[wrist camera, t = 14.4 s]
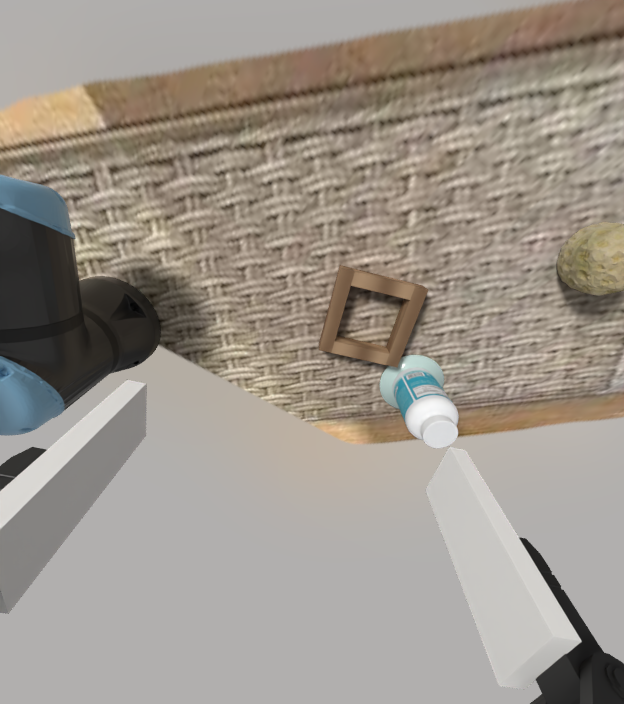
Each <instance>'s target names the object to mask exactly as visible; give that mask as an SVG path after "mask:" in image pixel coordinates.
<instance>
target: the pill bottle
mask: <svg viewBox="0 0 624 704" xmlns="http://www.w3.org/2000/svg"><path fill="white" fill-rule="evenodd" d="M392 391H393V394H394V397H395V399H396V402H397V404H398V406H399V409H400V411H401V414H402V416H403V418H404V421H405V423H406V426H407V428H408V430H409V431H410V433H411V434H412V435H414V436H415V437H416V438H418V439H420V440H424V442H425V443H426V444H427V445H428V446H430V447H432V448H444V447H447V446H449V445H451V444H452V443H453V442H454V441H455V440H456V438H457V436H458V429H457V427H456V426H457V423H458V411H457V409H456V407H455V406H454V404H453V403H452V401H451V400H450V398H449V397H448V396H447V394H446V393H445V391H444V390H443V389H442V387H441V386H440V384H439V383H438V381H437V380H436V379H435V377H434V376H433V375H432V374H431V373H430V372H429V371H428V370H426V369H423V368H419V367H413V368H408V369H406V370H404V371H402V372H401V373H399V374H398V375H397V377H396V378H395V380H394V382H393V386H392Z"/></svg>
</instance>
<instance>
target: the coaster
mask: <svg viewBox="0 0 624 704" xmlns="http://www.w3.org/2000/svg"><path fill="white" fill-rule="evenodd" d="M413 367H419V368H423V369H426V370H428V371H429V372H430V373H431V374H432V375H433V376H434V377H435V379H436V380H437V381H438V383H439V384H440V386H441V387H442V388H443V384H444V375H443V372H442V369H441V368H440V366H439V365H438V364H437V363H436V362H435V361H434V360H433V359H431V358H429V357H427V356H423V355H407V356H403V357H401V359H400V362H399V364H398V367H392V366H387V367H386V369H385V370H384V372H383V373H382V375H381V378H380V391H381V394H382V396H383V398H384V400H385V401H386V402H387V403H388V404H390V405H391V406H393V407H395V408H397V409H399V406H398V404H397V402H396V399H395V397H394V394H393V391H392V386H393V382H394V380H395V378H396V377H397V375H398V374H399V373H401V372H402V371H404V370H406V369H408V368H413Z"/></svg>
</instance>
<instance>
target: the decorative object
mask: <svg viewBox="0 0 624 704" xmlns="http://www.w3.org/2000/svg"><path fill="white" fill-rule="evenodd" d="M557 271H558V274H559V276H560V278H561V281H562V282H565V283H566V284H567V285H568V286H569V287H571V288H573V289H576V290H577V291H580V292H582V293H588V294H592V295H606V294H612V293H616V292H621V291H624V224H620V223H607V222H601V223H598V224H593V225H591V226H587V227H585V228H583V229H581V230H579V231H578V232H576V233H575V234H574V235H572V236H571V237H570V238H569V239H568V240H567V241H566V242H565V244H564V245H563V246H562V248H561V252H560V253H559V256H558V260H557Z"/></svg>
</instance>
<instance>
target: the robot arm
mask: <svg viewBox="0 0 624 704" xmlns="http://www.w3.org/2000/svg"><path fill="white" fill-rule="evenodd" d="M73 239H75V234H74V233H73V232H72V229H71V224H70V219H69V214H68V208H67V205H66V203H65V201H64V199H63V198H62V197H61V196H60V195H59V194H58V193H57V192H56V191H54V190H53V189H51V188H49V187H47V186H43V185H40V184H36V183H32V182H28V181H24V180H20V179H16V178H12V177H7V176H3V175H0V435H19V434H24V433H28V432H30V431H33V430H35V429H37V428H39V427H40V426H41V425H43V424H44V423H46V422H47V421H49V420H50V419H52V418H54V417H57V416H58V415H60V414H61V413H62V412H63V411H64V410H65V409H67V408H68V407H69V406H70V405H71V404H73V403H74V402H75V401H76V400H78V399H79V398H80V397H81V396H82V395H84V394H85V393H86V392H87V391H89V390H90V389H91V388H92V387H94V386H95V385H96V384H97V383H98V382H100V381H101V380H102V379H103V378H105V377H106V376H107V375H108V374H110V373H114V372H117V371H121V370H125V369H129V368H132V367H135V366H137V365H139V364H140V363H142V362H143V361H145V360H146V359H147V358H148V357H149V356H150V355H152V354H153V352H154V351H155V350H156V348H157V346H158V344H159V340H160V333H161V332H160V323H159V319H158V316H157V314H156V312H155V310H154V308H153V307H152V305H151V304H150V302H149V301H148V300H147V299H146V297H145V296H144V295H143V294H142V293H140V292H139V291H138V290H137V289H135V288H134V287H133V286H131V285H129V284H128V283H126V282H123V281H121V280H118V279H115V278H111V277H105V276H97V277H90V278H87V279H83V280H80V281H79V277H78V270H77V263H76V255H75V248H74V241H73ZM145 436H146V383H141V382H137V381H132V380H127V381H125V382H124V383H123V384H122V385H121V386H119V387H118V388H117V389H116V390H115V391H114V392H113V393H111V394H110V395H109V396H108V397H107V398H106V399H105V400H103V401H102V402H101V403H100V404H99V405H98V406H97V407H96V408H95V409H93V410H92V411H91V412H90V413H89V414H88V415H87V416H85V417H84V418H83V419H82V420H81V421H80V422H78V423H77V424H76V425H75V426H74V427H73V428H72V429H70V430H69V431H68V432H67V433H66V434H65V435H64V436H62V437H61V438H60V439H59V440H58V441H57V442H56V443H55V444H53V445H52V446H51V447H50V448H49V449H48V450H45V449H40V448H35V447H31V448H29V449H28V450H25V451H23V452H22V453H19V454H17V455H15V456H13V457H11V458H10V459H9V460H7V461H6V462H5V463H3V464H2V465H1V466H0V613H8V614H9V612H10V611H11V610H12V608H13V607H14V606H15V605H16V603H17V602H18V601H19V599H20V598H21V597H22V595H23V594H24V593H25V592H26V590H27V589H28V588H29V586H30V585H31V584H32V582H33V581H34V580H35V579H36V577H37V576H38V575H39V573H40V572H41V571H42V569H43V568H44V567H45V566H46V564H47V563H48V562H49V560H50V559H51V558H52V557H53V555H54V554H55V553H56V551H57V550H58V549H59V547H60V546H61V545H62V544H63V542H64V541H65V540H66V538H67V537H68V536H69V535H70V533H71V532H72V531H73V529H74V528H75V527H76V525H77V524H78V523H79V522H80V520H81V519H82V518H83V516H84V515H85V514H86V513H87V511H88V510H89V509H90V507H91V506H92V505H93V503H94V502H95V501H96V500H97V498H98V497H99V496H100V494H101V493H102V492H103V490H104V489H105V488H106V487H107V485H108V484H109V483H110V482H111V480H112V479H113V478H114V476H115V475H116V474H117V472H118V471H119V470H120V469H121V467H122V466H123V465H124V463H125V462H126V461H127V460H128V458H129V457H130V456H131V454H132V453H133V451H134V450H135V449H136V448H137V447H138V445H139V444H140V443H141V441H142V440H143V439H144V437H145ZM425 491H426V494H427V496H428V499H429V502H430V504H431V507H432V509H433V512H434V515H435V517H436V520H437V523H438V525H439V528H440V531H441V533H442V536H443V539H444V541H445V544H446V546H447V549H448V552H449V555H450V557H451V560H452V563H453V565H454V568H455V570H456V573H457V576H458V578H459V581H460V584H461V586H462V589H463V592H464V594H465V597H466V600H467V602H468V605H469V608H470V610H471V613H472V616H473V618H474V621H475V624H476V626H477V629H478V632H479V634H480V637H481V639H482V642H483V645H484V648H485V650H486V653H487V655H488V658H489V661H490V664H491V666H492V669H493V671H494V674H495V677H496V680H497V682H498V685H499V686H502V687H509V688H516V689H523V690H524V689H525V688H526V687H528V686H529V685H530V684H531V683H533V682H534V681H535V680H536V681H537V683H538V685H539V687H540V690H541V692H542V695H540V696H539V697H538V698H537V699H535V700H534V701H533V702H531V703H530V704H624V664H623V663H622V662H621V661H619V660H618V659H616V658H614V657H613V656H611V655H610V654H606V653H604V652H603V650H602V649H601V647H600V646H599V645H598V643H597V642H596V640H595V638H594V637H593V635H592V634H591V632H590V631H589V629H588V627H587V626H586V624H585V623H584V621H583V620H582V618H581V617H580V615H579V614H578V612H577V610H576V609H575V607H574V606H573V604H572V603H571V601H570V599H569V598H568V596H567V595H566V593H565V592H564V590H562V589H561V585H560V584H559V582H558V581H557V579H556V578H555V576H554V575H552V573H551V572H552V571H551V570H550V568H549V567H548V565H547V564H546V562H545V560H544V559H543V557H542V556H541V555H540V553H539V552H538V551H537V550H536V549H535V548H534V547H533V546H532V545H531V544H530V543H529V542H528V540H527V539H525V538H519V537H518V536H517V534H516V532H515V531H514V529H513V527H512V526H511V524H510V522H509V521H508V519H507V517H506V516H505V514H504V512H503V511H502V509H501V508H500V506H499V504H498V503H497V501H496V499H495V498H494V496H493V495H492V493H491V491H490V490H489V488H488V486H487V484H486V483H485V481H484V480H483V478H482V476H481V475H480V473H479V472H478V470H477V468H476V467H475V465H474V463H473V462H472V460H471V458H470V456H469V455H468V453H467V452H466V450H463V449H458V448H453V447H449V448H448V450H447V452H446V453H445V455H444V457H443V459H442V461H441V463H440V464H439V466H438V468H437V470H436V472H435V474H434V475H433V477H432V479H431V481H430V483H429V484H428V486H427V488H426V490H425Z"/></svg>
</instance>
